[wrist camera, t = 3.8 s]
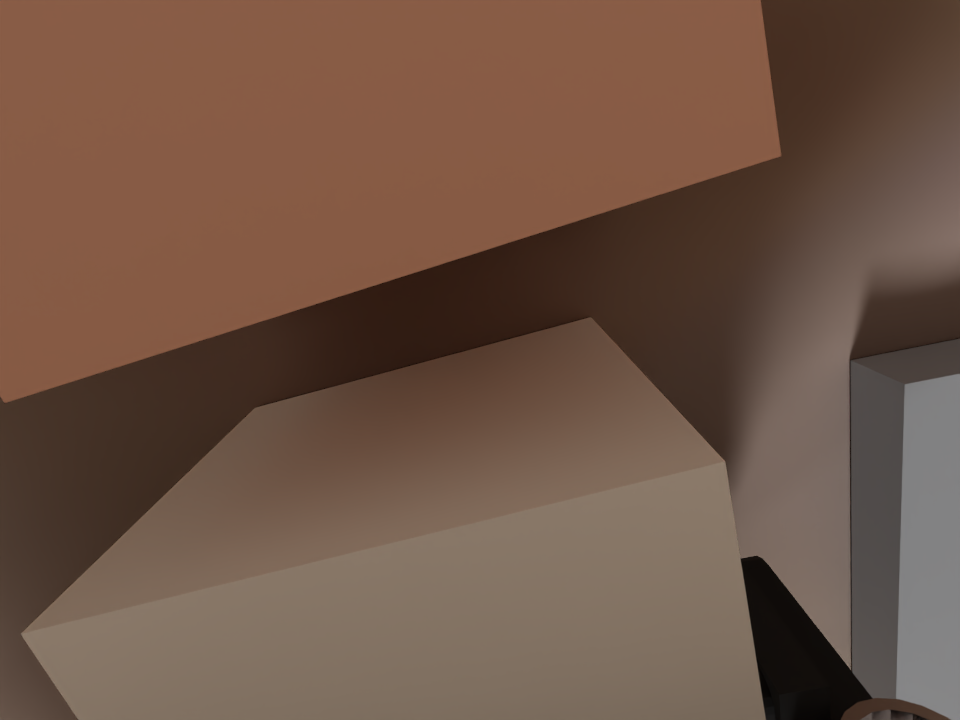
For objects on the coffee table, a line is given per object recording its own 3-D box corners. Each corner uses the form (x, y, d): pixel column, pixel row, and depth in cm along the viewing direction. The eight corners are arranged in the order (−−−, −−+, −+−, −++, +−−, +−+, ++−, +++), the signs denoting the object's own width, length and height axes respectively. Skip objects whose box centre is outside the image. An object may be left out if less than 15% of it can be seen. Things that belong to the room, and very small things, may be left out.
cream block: (678, 711, 11) (822, 1080, 7) (412, 767, 12) (369, 1151, 7) (591, 317, 9) (725, 461, 4) (255, 408, 9) (21, 634, 5)
